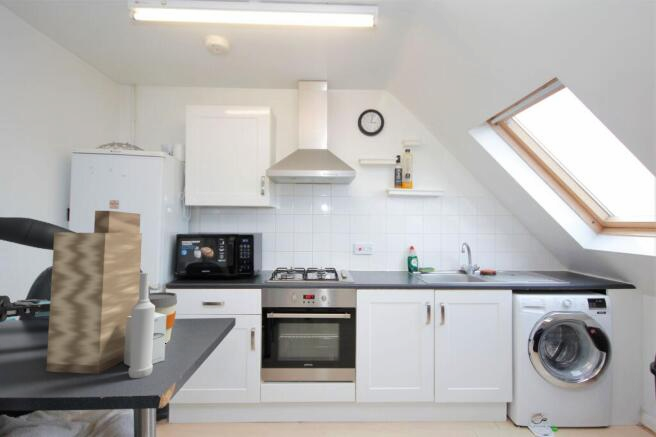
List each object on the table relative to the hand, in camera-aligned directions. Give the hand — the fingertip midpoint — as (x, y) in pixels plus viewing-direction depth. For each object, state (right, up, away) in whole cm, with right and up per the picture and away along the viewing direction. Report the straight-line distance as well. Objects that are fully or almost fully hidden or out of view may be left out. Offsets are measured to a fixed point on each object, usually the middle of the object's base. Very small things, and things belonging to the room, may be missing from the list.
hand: (59, 305), depth 98 cm
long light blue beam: (+6, -1, +3) cm, 7 cm away
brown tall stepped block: (+19, -12, -11) cm, 26 cm away
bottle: (+36, -12, -19) cm, 43 cm away
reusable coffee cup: (+27, -13, +4) cm, 30 cm away
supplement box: (+33, -13, -12) cm, 37 cm away
